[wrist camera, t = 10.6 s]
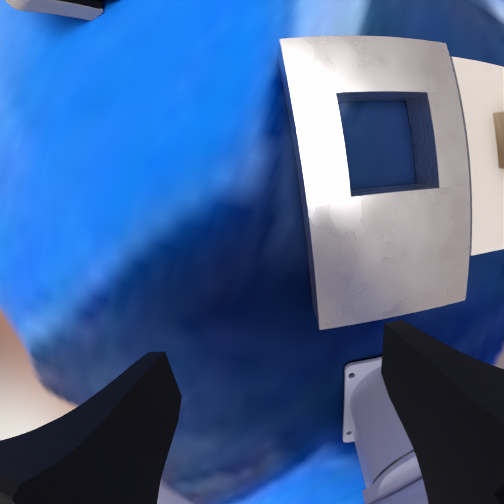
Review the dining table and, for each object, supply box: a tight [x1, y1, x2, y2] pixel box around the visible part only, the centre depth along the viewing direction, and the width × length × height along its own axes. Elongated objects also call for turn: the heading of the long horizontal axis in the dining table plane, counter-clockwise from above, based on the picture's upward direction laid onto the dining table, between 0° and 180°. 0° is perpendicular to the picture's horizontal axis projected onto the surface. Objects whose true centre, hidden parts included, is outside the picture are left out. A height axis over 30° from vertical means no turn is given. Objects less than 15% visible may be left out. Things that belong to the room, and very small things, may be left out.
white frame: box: [278, 36, 470, 330], centre depth 16 cm, size 16×10×3 cm, turn 9°
